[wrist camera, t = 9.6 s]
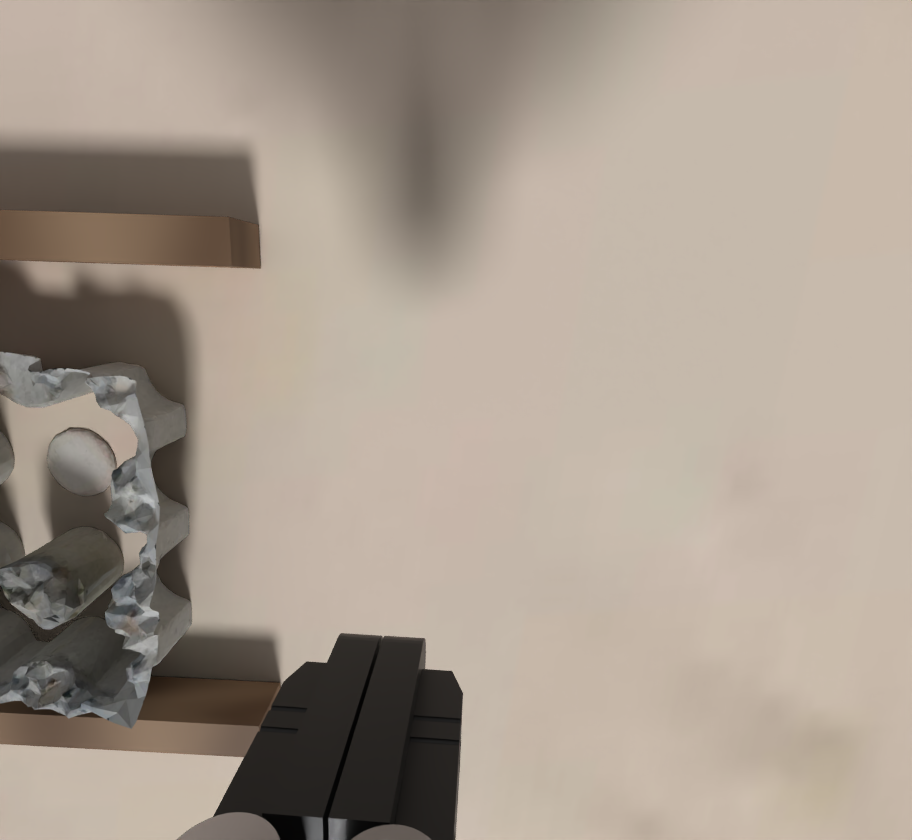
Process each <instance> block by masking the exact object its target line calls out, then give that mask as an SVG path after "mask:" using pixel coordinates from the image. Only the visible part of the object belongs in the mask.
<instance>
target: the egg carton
mask: <svg viewBox="0 0 912 840" xmlns="http://www.w3.org/2000/svg"><path fill="white" fill-rule="evenodd" d="M92 392H94V394H95V396H96V401H97V403H98V404H99V406H100V407H101V408H104V409H106V410H109V411H111V412H112V413H114V414H115V415H116V416H118V417H120V418H121V419H123V420H124V421H125V422H127V423H128V424H130V426H131V427H132V429H133V431H134V432H135V434H136V436H137V438H138V447H137V451H136V456H134V457H132V458H130V459H129V460H127V461H125V462H124V463H123V464H122V465H121V466H119V467H118V468H117V463H116V459H115V456H114V454H113V451H112V449H111V448H110V446H109V445H108V444H107V443H106V442H105V441H104V440H103V439H102V438H101V437H100V436H98V435H97V434H96V433H94V432H92V431H90V430H85V429H81V428H76V429H68V430H67V431H65V432H62V433H60V434H58V435H56V436H55V438H54V439H53V441H52V442H51V443H50V445H49V449H48V455H47V461H48V468H49V469H50V471H51V474H52V475H53V477H54V478H55V479H56V481H57V482H58V483H59V484H60V485H61V486H62V487H64V488H65V489H67V490H68V491H70V492H72V493H74V494H77V495H80V496H93V495H96V494H98V493H101V492H103V491H105V490H106V489H107V488H108V487H109V486H110V485H111V497H112V504H111V506H110V508H109V510H108V511H107V512H106V513H105V514H104V515H105V516H106V518H107V519H109V520H110V521H112V522H113V523H114V524H115V525H117V526H118V527H119V528H120V529H121V530H122V531H124V532H125V533H134V532H142V533H145V534H147V544H146V545H145V546H144V547H143V548H142V549H141V551H140V553H139V555H140V565H138V566H137V567H136V568H135V569H134V570H132V571H130V572H129V573H127V574H125V575H123V576H121V574H122V572H123V568H124V559H123V555H122V552H121V550H120V548H119V547H118V545H117V544H116V543H115V542H114V541H113V540H112V539H111V538H110V537H109V536H108V535H107V534H106V533H104V532H103V531H101V530H98V529H95V528H92V527H78V528H74V529H71V530H69V531H68V532H66V533H64V534H63V535H61V536H59V537H57V538H56V539H54V540H52V541H50V542H49V543H47V544H45V545H44V546H42V547H41V548H39V549H37V550H35V551H34V552H32V553H30V554H28V555H26V556H25V551H24V547H23V544H22V542H21V540H20V538H19V536H18V535H17V534H16V532H15V531H14V530H13V529H11V528H10V527H9V526H7V525H6V524H4V523H2V522H0V586H1V587H2V589H3V592H4V594H5V596H6V598H7V599H8V600H9V602H10V603H11V605H13V606H14V607H16V608H17V609H18V610H20V611H21V612H22V613H24V614H25V615H26V616H28V617H29V618H31V619H33V620H34V621H35V622H36V623H37V625H38V626H39V627H41V628H42V629H50V630H51V629H53V628H54V627H56V626H58V625H60V624H62V623H65V622H67V621H69V620H71V619H74V618H75V617H76V616H77V615H78V614H79V613H81V612H82V611H83V610H84V609H85V608H86V607H87V606H88V605H89V604H90V603H92V602H93V601H94V600H95V599H96V598H97V597H98V596H100V595H101V594H102V593H103V592H104V591H105V590H107V589H108V588H109V587H110V586H111V585H112V584H114V583H115V584H114V585H113V587H112V589H111V592H112V596H113V597H112V599H111V601H110V603H109V604H108V609H107V610H106V612H105V618H106V620H105V619H102V618H99V617H93V616H90V617H84V618H80V619H78V620H76V621H75V622H73V623H72V624H71V625H70V626H68V627H67V628H66V629H65V630H64V631H63V632H61V633H60V634H59V635H58V636H57V637H56V638H54V639H53V640H52V641H51V642H42V641H37V640H36V639H35V637H34V635H33V633H32V631H31V629H30V627H29V625H28V624H27V623H26V622H25V621H24V619H23V618H22V617H20V616H19V615H17V614H16V613H14V612H12V611H9V610H6V609H4V608H2V607H1V605H0V704H1V703H5V702H10V701H22V702H23V703H25V704H26V705H27V707H32V708H33V709H34V710H37V709H52V710H54V711H56V712H58V713H61V714H63V715H66V717H67V718H68V719H69V718H72V717H74V716H77V715H81V714H86V713H90V712H93V713H95V714H97V715H99V716H101V717H103V718H104V719H106V720H108V721H111V722H113V723H115V724H118V725H121V726H124V727H127V728H130V729H132V727H133V726H134V725H135V723H136V721H137V718H138V716H139V713H140V710H141V707H142V705H143V702H144V699H145V697H146V693H147V689H148V685H149V681H150V676H151V671H152V667H153V666H155V665H157V664H159V663H160V662H161V660H162V659H163V658H164V657H165V656H166V655H167V654H168V652H169V651H170V650H171V648H172V647H173V646H174V645H175V644H176V643H177V642H178V640H179V639H180V638H181V637H182V636H183V635H184V634H185V633H186V631H187V629H188V628H189V627H190V626H191V624H192V607H191V601H189V600H188V599H185V598H183V597H180V596H178V595H176V594H174V593H173V592H171V591H170V590H169V589H167V588H166V587H165V586H164V585H163V583H162V582H161V581H160V579H159V577H158V575H157V571H156V570H157V568H158V565H159V563H160V559H161V558H162V557H163V556H164V555H165V554H166V553H167V552H169V551H170V550H171V549H172V548H173V547H175V546H176V545H177V544H178V543H179V542H181V541H182V540H183V539H184V538H186V537H187V536H188V534H189V511H188V508H187V507H186V506H184V505H182V504H179V503H177V502H175V501H173V500H171V499H169V498H168V497H167V496H166V495H164V494H163V493H162V492H161V491H160V489H159V488H158V487H157V486H156V483H155V481H154V478H153V473H152V469H151V462H152V458H153V455H154V453H155V451H156V450H158V449H160V448H162V447H163V446H165V445H167V444H169V443H172V442H174V441H176V440H178V439H180V438H182V437H184V436H185V435H186V410H185V407H184V405H183V404H180V403H177V402H173V401H170V400H168V399H167V398H165V397H163V396H162V395H161V394H160V393H158V392H157V391H156V389H155V388H154V386H153V385H152V383H151V382H150V380H149V377H148V375H147V372H146V370H145V369H144V368H143V367H142V366H140V365H135V364H127V363H123V362H114V363H109V364H103V365H98V366H94V367H89V368H84V369H79V370H77V369H69V368H54V369H48V370H45V371H43V369H42V363H41V358H37V356H33V355H28V354H18V353H7V352H0V393H1V394H2V395H4V396H6V397H7V398H9V399H10V400H12V401H13V402H15V403H17V404H20V405H22V406H25V407H35V408H40V407H47V406H50V405H53V404H57V403H60V402H63V401H66V400H70V399H73V398H76V397H79V396H82V395H85V394H89V393H92ZM14 460H15V459H14V454H13V450H12V448H11V446H10V443H9V441H8V439H7V438H6V437H5V436H4V434H3V433H2V432H1V431H0V485H1V484H2V483H3V482H4V481H5V480H7V479H8V477H9V476H10V474H11V472H12V470H13V468H14ZM120 576H121V577H120ZM125 636H126V637H125Z"/></svg>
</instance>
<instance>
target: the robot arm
mask: <svg viewBox="0 0 912 840" xmlns="http://www.w3.org/2000/svg"><path fill="white" fill-rule="evenodd" d="M425 656H426V642H425V638H410V637H394V636H384V637H382V636H376V635H360V634H345V633H341V634H340V635H339V637H338V639H337V641H336V643H335V646H334V648H333V650H332V653H331V655H330V657H329V659H328V662H327V663H319V662H306V663H304V664H303V665H302V666H301V667H300V668H299V669H298V670H296V671H295V672H294V673H293V674H292V675H291V676H290V677H288V678H287V679H286V680H285V681H284V682H283V684H282V686H281V688H280V690H279V692H278V694H277V696H276V698H275V700H274V702H273V703H272V705H271V710H269V711H268V713H267V715H266V717H265V719H264V721H263V723H262V724H261V728H260V732H259V731H258V732H257V734H256V736H255V738H254V740H253V742H252V744H251V745H250V747H249V749H248V751H247V753H246V755H245V757H244V759H243V761H242V763H241V765H240V766H239V768H238V770H237V772H236V774H235V776H234V778H233V780H232V782H231V784H230V786H229V788H228V789H227V791H226V793H225V795H224V797H223V799H222V801H221V803H220V805H219V807H218V809H217V810H216V812H215V814H214V816H213V817H212V818H209V819H207V820H205V821H203V822H201V823H199V824H197V825H195V826H194V827H192V828H191V829H189V830H188V831H186V832H185V833H184V834H183V835H181V836H180V837H179V838H178V839H177V840H455V838H456V821H457V805H458V788H459V772H460V749H461V725H462V701H463V693H462V690H461V688H460V686H459V684H458V682H457V680H456V678H455V676H454V674H453V672H452V671H442V670H427V669H425Z"/></svg>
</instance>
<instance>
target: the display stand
mask: <svg viewBox="0 0 912 840" xmlns="http://www.w3.org/2000/svg"><path fill="white" fill-rule="evenodd" d="M0 260H19V261H49V262H80V263H110V264H140V265H170V266H200V267H230V268H261V267H260V246H259V225H256V224H253V223H249V222H245V221H242V220H238V219H234V218H231V217H214V216H182V215H149V214H117V213H85V212H53V211H20V210H0ZM279 690H280V683H276V682H256V681H237V680H217V679H197V678H178V677H158V676H150V681H149V685H148V689H147V693H146V697H145V699H144V702H143V705H142V707H141V710H140V713H139V716H138V718H137V721H136V723H135V725H134V726H133V727H132V729H130V728H127V727H124V726H121V725H118V724H115V723H113V722H111V721H108V720H106V719H104V718H103V717H101V716H99V715H97V714H95V713H93V712H90V713H86V714H81V715H77V716H74V717H72V718H69V719H68V718H67V717H66V715H63V714H61V713H58V712H56V711H54V710H52V709H37V710H34V709H33V708H32V707H27V705H26V704H25V703H23V702H22V701H10V702H5V703H1V704H0V744H11V745H30V746H48V747H67V748H85V749H104V750H123V751H141V752H160V753H178V754H197V755H215V756H234V757H245V755H246V753H247V751H248V749H249V747H250V745H251V744H252V742H253V740H254V738H255V736H256V734H257V732H258V731H259V732H260V728H261V724H262V723H263V721H264V719H265V717H266V715H267V713H268V711H269V710H271V705H272V703H273V702H274V700H275V698H276V696H277V694H278V692H279Z"/></svg>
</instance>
